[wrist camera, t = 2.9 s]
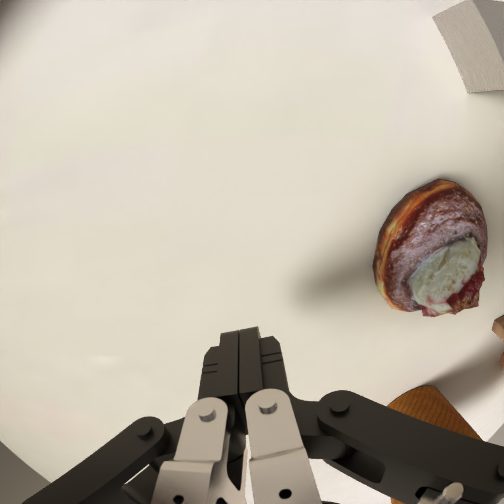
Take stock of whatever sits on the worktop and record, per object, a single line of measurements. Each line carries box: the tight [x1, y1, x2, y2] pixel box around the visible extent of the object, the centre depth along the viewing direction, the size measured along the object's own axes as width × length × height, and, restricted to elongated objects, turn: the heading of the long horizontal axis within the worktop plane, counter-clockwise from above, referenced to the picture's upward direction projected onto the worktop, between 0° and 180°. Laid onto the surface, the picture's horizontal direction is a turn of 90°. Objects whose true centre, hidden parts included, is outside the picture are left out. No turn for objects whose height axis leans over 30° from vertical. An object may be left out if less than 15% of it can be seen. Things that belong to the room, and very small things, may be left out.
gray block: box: [432, 0, 504, 93], centre depth 8 cm, size 5×5×4 cm
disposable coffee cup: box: [387, 386, 483, 504], centre depth 14 cm, size 10×10×12 cm
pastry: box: [373, 179, 488, 317], centre depth 12 cm, size 8×8×5 cm
